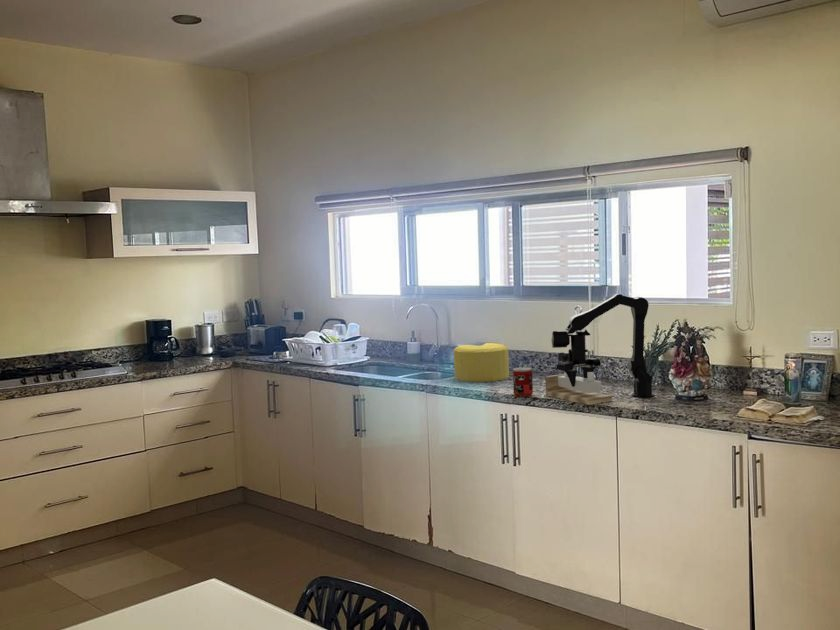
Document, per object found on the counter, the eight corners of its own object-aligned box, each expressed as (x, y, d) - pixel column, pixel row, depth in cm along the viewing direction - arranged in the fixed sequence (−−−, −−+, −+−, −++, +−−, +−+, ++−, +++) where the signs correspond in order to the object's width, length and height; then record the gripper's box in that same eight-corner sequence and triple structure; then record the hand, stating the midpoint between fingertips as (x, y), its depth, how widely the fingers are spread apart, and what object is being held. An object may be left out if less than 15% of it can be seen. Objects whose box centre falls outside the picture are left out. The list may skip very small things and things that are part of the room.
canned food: (510, 394, 332) (509, 368, 331) (526, 392, 335) (526, 366, 334) (519, 397, 325) (518, 370, 324) (536, 395, 328) (535, 368, 327)
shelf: (612, 400, 309) (611, 380, 309) (589, 405, 303) (588, 384, 302) (568, 392, 331) (567, 373, 330) (545, 395, 325) (545, 376, 324)
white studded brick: (601, 391, 309) (601, 372, 308) (589, 393, 306) (588, 374, 305) (570, 384, 326) (569, 366, 326) (558, 386, 324) (557, 368, 323)
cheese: (472, 371, 397) (471, 341, 396) (519, 374, 382) (518, 343, 380) (444, 379, 376) (443, 348, 374) (492, 383, 361) (490, 350, 359)
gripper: (581, 342, 326) (582, 380, 328) (546, 347, 317) (548, 386, 318) (601, 345, 317) (602, 383, 318) (565, 350, 307) (566, 389, 309)
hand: (579, 385), depth 316 cm, fingers closed on white studded brick, 6 cm apart
